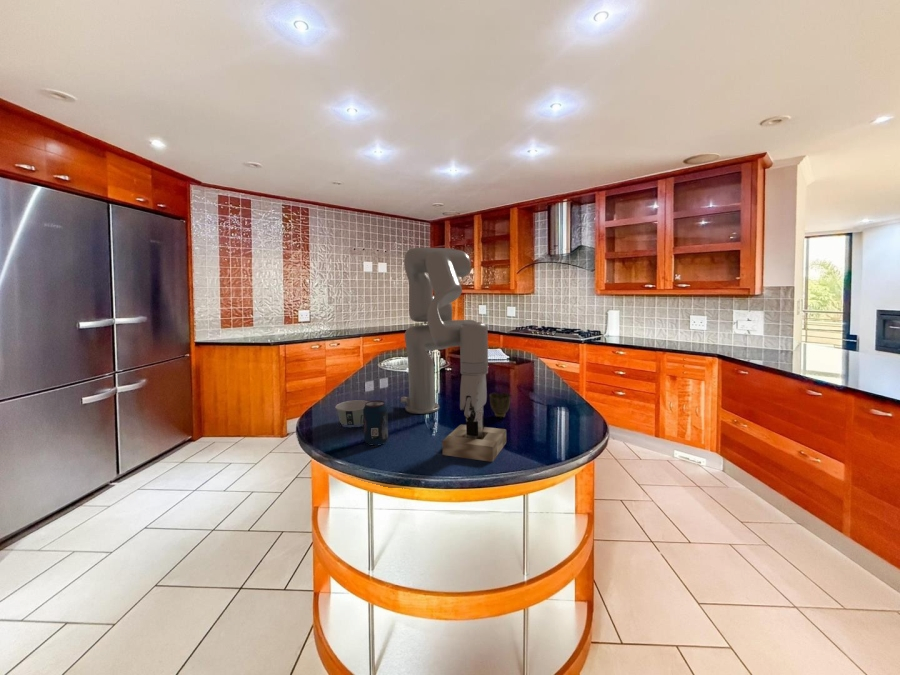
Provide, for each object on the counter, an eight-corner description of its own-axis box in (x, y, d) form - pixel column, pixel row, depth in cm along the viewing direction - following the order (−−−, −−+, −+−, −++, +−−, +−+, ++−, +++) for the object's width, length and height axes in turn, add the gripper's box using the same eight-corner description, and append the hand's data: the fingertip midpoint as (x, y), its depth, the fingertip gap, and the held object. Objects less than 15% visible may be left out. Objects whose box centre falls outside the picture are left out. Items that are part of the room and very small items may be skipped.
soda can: (366, 438, 123) (364, 400, 122) (389, 438, 123) (388, 399, 122) (362, 447, 116) (361, 406, 115) (387, 446, 116) (385, 405, 115)
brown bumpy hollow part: (510, 413, 145) (510, 391, 144) (511, 420, 137) (511, 397, 136) (489, 413, 145) (489, 391, 144) (489, 420, 138) (489, 397, 137)
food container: (343, 417, 145) (342, 400, 144) (376, 418, 143) (375, 400, 143) (330, 429, 133) (329, 409, 132) (366, 429, 131) (365, 410, 131)
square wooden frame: (442, 454, 110) (442, 440, 109) (460, 437, 122) (460, 424, 122) (492, 461, 104) (492, 446, 104) (506, 442, 117) (506, 429, 117)
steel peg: (466, 448, 112) (465, 399, 111) (471, 443, 116) (470, 395, 114) (480, 450, 111) (479, 400, 109) (484, 445, 114) (483, 396, 113)
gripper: (471, 361, 120) (472, 421, 122) (449, 372, 105) (451, 441, 107) (495, 362, 117) (496, 424, 119) (477, 374, 102) (478, 444, 104)
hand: (475, 431), depth 113 cm, fingers closed on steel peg, 4 cm apart
